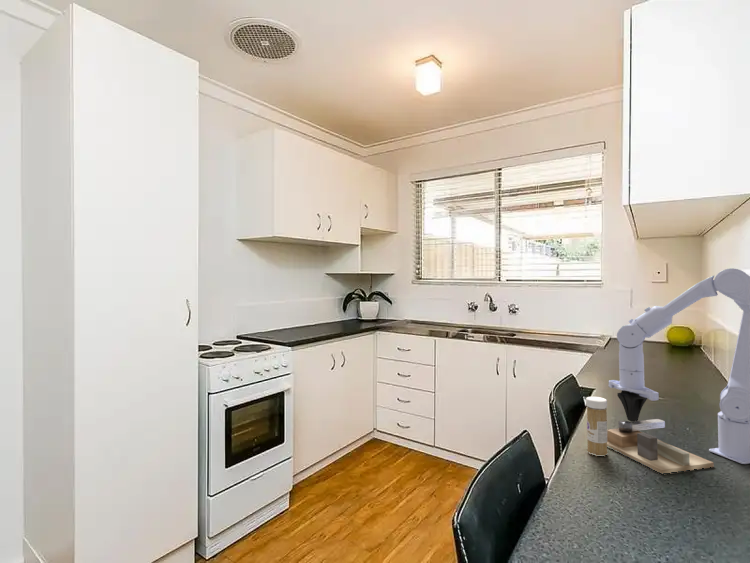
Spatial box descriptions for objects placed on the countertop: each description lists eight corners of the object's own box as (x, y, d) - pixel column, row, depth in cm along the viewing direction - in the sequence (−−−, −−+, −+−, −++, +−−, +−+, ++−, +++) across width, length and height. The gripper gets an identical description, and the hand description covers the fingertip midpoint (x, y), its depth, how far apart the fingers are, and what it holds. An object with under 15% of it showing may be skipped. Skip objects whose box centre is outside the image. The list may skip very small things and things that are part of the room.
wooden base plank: (645, 438, 112) (645, 415, 112) (713, 467, 95) (713, 440, 95) (600, 444, 109) (599, 420, 109) (661, 474, 91) (661, 446, 91)
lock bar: (625, 433, 105) (625, 425, 105) (615, 429, 108) (615, 421, 108) (666, 428, 108) (666, 420, 108) (656, 424, 111) (656, 416, 111)
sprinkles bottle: (583, 450, 105) (582, 396, 105) (600, 449, 106) (599, 395, 106) (594, 458, 101) (593, 401, 101) (612, 457, 101) (611, 400, 101)
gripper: (598, 365, 120) (599, 413, 120) (641, 376, 106) (642, 431, 106) (620, 363, 121) (621, 411, 121) (665, 374, 107) (666, 428, 107)
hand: (632, 420), depth 114 cm, fingers closed
